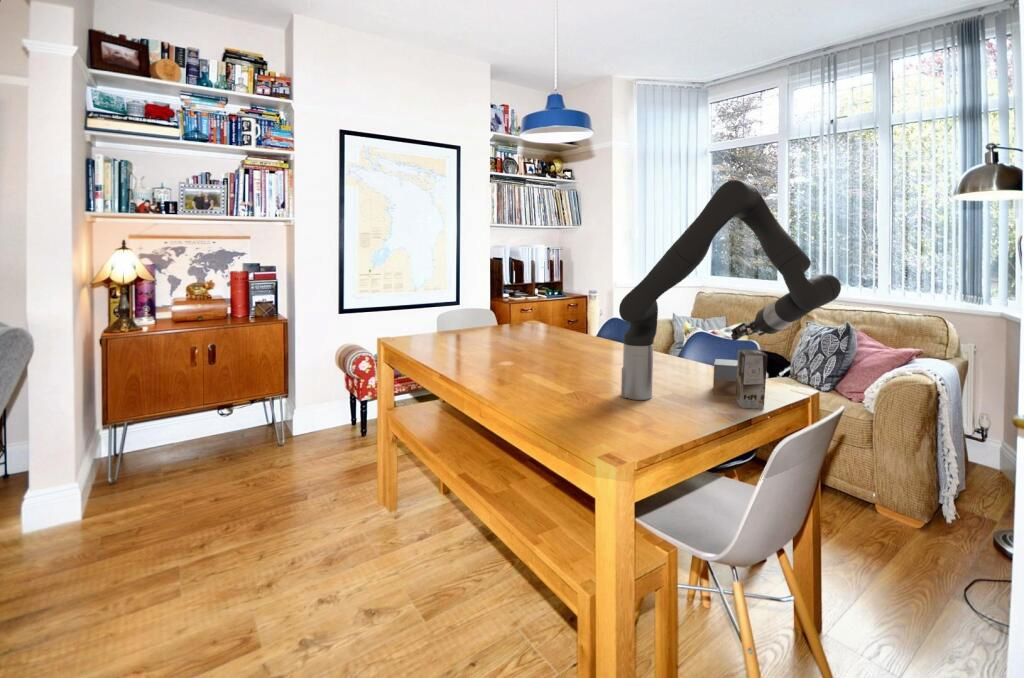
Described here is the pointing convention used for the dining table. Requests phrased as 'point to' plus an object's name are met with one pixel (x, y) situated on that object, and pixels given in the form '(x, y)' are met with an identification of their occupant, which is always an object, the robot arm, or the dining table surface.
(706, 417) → the dining table surface
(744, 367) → the coffee box
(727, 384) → the slab bottom
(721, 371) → the slab top
